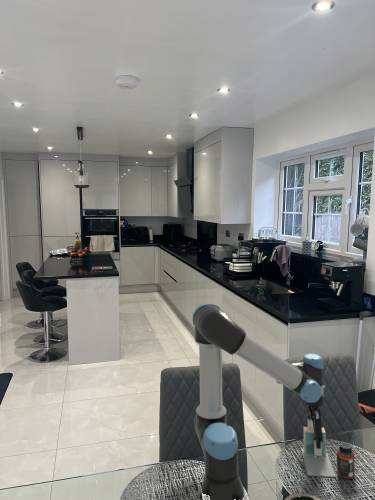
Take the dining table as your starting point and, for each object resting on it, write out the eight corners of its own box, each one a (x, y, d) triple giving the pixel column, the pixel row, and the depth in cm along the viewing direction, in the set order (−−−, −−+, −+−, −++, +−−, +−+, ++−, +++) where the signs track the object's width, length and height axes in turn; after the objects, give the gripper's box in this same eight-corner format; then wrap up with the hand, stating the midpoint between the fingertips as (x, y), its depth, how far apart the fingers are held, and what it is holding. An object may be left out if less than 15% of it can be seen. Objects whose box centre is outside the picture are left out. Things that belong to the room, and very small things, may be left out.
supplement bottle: (356, 480, 131) (356, 451, 130) (339, 479, 132) (338, 449, 131) (352, 469, 137) (352, 441, 136) (335, 468, 138) (335, 439, 137)
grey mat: (307, 475, 135) (307, 474, 135) (300, 449, 150) (300, 448, 150) (335, 477, 133) (335, 476, 133) (325, 450, 149) (325, 449, 149)
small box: (305, 455, 146) (304, 431, 145) (303, 450, 149) (303, 426, 148) (326, 456, 144) (325, 432, 143) (324, 451, 148) (323, 427, 147)
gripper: (331, 409, 132) (331, 465, 133) (316, 380, 157) (317, 427, 158) (309, 409, 133) (310, 464, 135) (299, 379, 158) (300, 426, 159)
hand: (314, 444), depth 146 cm, fingers open, 13 cm apart
